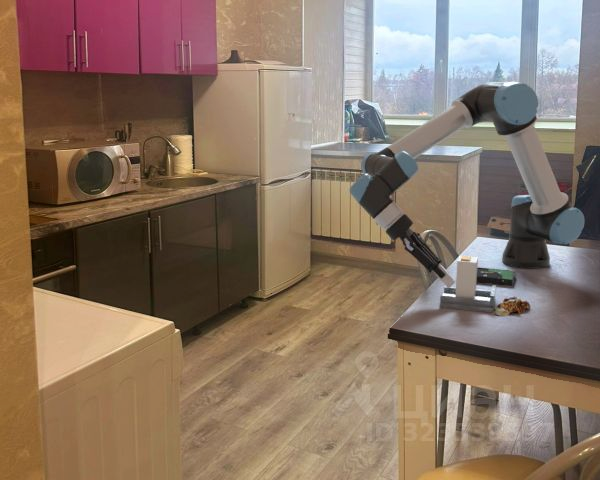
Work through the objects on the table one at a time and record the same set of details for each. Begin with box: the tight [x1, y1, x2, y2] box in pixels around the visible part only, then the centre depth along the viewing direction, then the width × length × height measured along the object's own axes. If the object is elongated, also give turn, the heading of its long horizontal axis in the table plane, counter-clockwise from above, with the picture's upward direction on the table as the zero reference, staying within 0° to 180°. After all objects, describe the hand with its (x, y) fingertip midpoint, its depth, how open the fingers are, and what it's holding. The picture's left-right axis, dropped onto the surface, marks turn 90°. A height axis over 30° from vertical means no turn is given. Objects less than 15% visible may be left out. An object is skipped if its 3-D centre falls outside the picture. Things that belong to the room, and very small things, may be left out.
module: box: [455, 254, 479, 298], centre depth 179 cm, size 5×6×11 cm
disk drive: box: [476, 266, 517, 288], centre depth 202 cm, size 10×3×15 cm
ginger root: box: [491, 296, 531, 317], centre depth 174 cm, size 7×12×4 cm, turn 135°
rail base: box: [439, 284, 497, 314], centre depth 180 cm, size 14×12×4 cm
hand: (452, 284), depth 181 cm, fingers closed
